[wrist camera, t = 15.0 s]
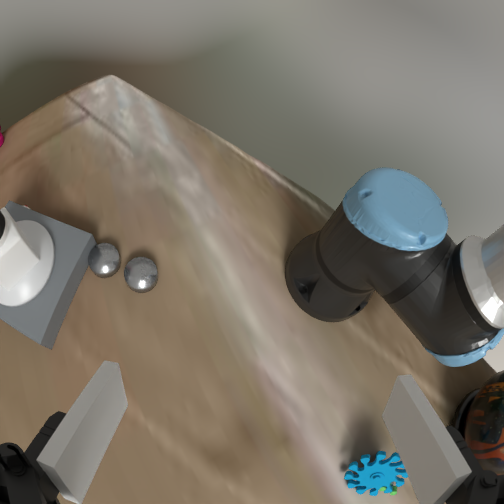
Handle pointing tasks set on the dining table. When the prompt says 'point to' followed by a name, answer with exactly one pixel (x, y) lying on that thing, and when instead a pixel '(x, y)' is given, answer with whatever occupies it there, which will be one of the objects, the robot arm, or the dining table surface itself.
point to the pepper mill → (1, 138)
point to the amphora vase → (484, 423)
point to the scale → (45, 275)
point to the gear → (377, 474)
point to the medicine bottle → (14, 252)
